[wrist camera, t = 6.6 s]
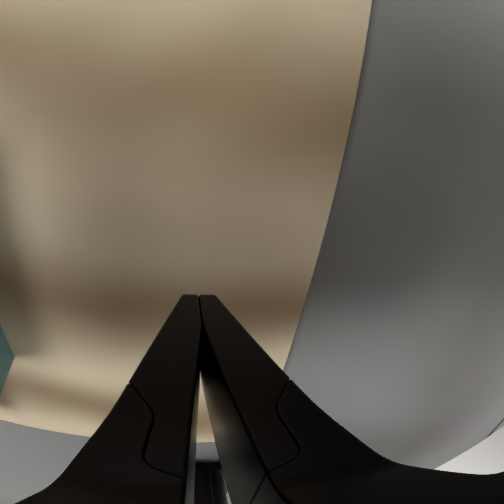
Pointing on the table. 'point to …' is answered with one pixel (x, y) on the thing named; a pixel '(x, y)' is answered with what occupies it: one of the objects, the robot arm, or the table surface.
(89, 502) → the robot arm
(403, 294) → the table surface
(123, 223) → the wooden base board
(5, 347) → the teal t-shaped block
